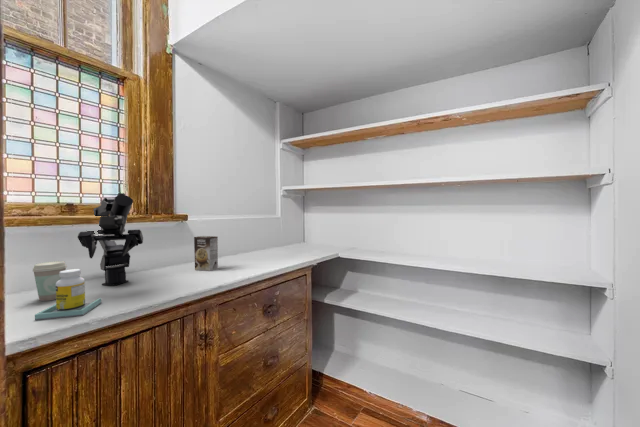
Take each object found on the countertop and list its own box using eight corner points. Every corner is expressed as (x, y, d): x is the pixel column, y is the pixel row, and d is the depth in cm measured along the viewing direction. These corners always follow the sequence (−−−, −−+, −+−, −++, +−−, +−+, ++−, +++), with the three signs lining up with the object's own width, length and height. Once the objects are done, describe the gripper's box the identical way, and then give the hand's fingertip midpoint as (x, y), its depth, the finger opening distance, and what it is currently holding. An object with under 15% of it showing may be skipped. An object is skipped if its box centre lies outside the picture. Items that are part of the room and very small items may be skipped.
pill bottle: (54, 310, 83) (53, 271, 83) (82, 304, 88) (81, 267, 88) (58, 315, 79) (57, 274, 79) (87, 308, 84) (86, 270, 84)
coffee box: (194, 270, 136) (193, 237, 136) (203, 267, 142) (202, 235, 142) (210, 271, 133) (209, 237, 133) (218, 268, 140) (217, 235, 139)
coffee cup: (38, 304, 90) (36, 266, 90) (30, 299, 95) (28, 264, 95) (72, 296, 98) (70, 262, 97) (63, 292, 102) (61, 259, 102)
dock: (59, 306, 87) (59, 301, 87) (101, 302, 90) (101, 298, 90) (34, 320, 77) (34, 314, 77) (82, 315, 80) (82, 310, 80)
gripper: (78, 208, 99) (64, 243, 89) (140, 207, 105) (133, 240, 95) (89, 229, 107) (76, 264, 96) (146, 227, 113) (139, 259, 103)
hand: (106, 256), depth 98 cm, fingers open, 9 cm apart
